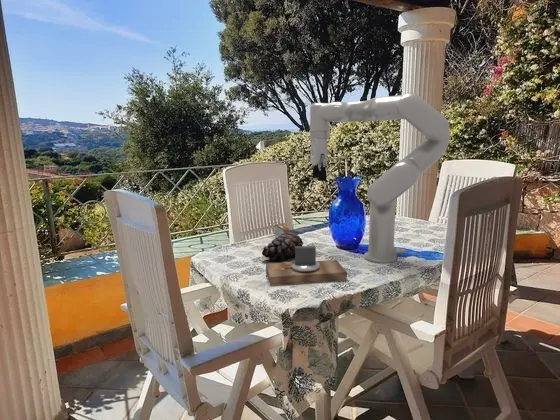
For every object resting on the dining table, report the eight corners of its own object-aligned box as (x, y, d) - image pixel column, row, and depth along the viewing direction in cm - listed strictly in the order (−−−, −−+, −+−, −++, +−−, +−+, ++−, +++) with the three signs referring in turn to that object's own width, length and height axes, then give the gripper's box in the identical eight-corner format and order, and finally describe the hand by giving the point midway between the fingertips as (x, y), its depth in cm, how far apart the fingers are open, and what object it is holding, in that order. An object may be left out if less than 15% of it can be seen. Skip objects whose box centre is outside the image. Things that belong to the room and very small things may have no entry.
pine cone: (258, 261, 157) (257, 236, 155) (288, 250, 170) (287, 227, 168) (278, 267, 150) (278, 241, 148) (307, 255, 163) (307, 231, 161)
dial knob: (318, 262, 145) (318, 242, 144) (321, 272, 135) (321, 251, 134) (284, 262, 145) (284, 243, 144) (284, 272, 135) (284, 251, 134)
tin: (292, 248, 173) (292, 229, 172) (285, 249, 172) (285, 230, 170) (279, 239, 187) (279, 221, 185) (273, 240, 186) (273, 222, 184)
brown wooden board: (336, 267, 149) (336, 259, 148) (346, 280, 136) (347, 271, 136) (266, 271, 146) (265, 263, 145) (270, 285, 133) (270, 276, 132)
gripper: (305, 135, 166) (305, 177, 169) (315, 136, 149) (314, 182, 153) (323, 135, 167) (323, 176, 170) (335, 136, 150) (334, 181, 154)
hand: (319, 179), depth 161 cm, fingers open, 9 cm apart
